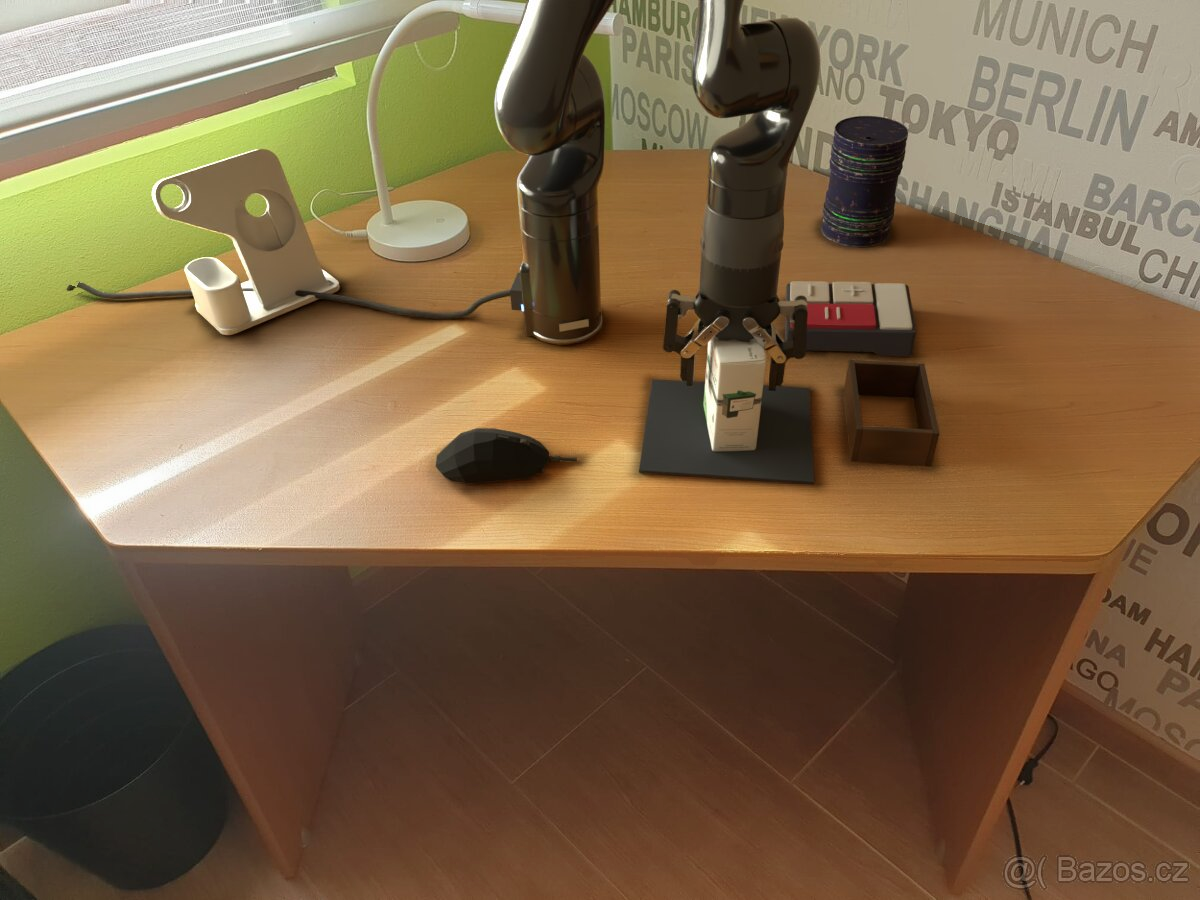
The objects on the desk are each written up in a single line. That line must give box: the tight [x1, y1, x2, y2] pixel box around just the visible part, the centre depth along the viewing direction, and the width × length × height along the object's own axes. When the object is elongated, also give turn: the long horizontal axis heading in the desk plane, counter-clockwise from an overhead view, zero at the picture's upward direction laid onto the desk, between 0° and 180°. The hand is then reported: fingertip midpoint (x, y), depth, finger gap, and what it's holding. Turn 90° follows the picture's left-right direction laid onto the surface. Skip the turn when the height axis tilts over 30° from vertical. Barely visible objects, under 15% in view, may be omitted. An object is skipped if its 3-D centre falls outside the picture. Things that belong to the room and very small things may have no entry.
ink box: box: [703, 336, 767, 451], centre depth 100 cm, size 9×5×12 cm, turn 2°
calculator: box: [784, 280, 917, 358], centre depth 117 cm, size 11×4×15 cm
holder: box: [842, 359, 941, 467], centre depth 103 cm, size 8×12×4 cm
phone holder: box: [151, 148, 341, 336], centre depth 122 cm, size 17×10×18 cm, turn 131°
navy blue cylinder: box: [820, 115, 909, 248], centre depth 133 cm, size 10×10×15 cm
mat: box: [638, 378, 816, 485], centre depth 104 cm, size 18×16×1 cm
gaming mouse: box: [435, 427, 578, 485], centre depth 100 cm, size 6×15×4 cm, turn 93°
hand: (730, 384), depth 100 cm, fingers open, 8 cm apart
